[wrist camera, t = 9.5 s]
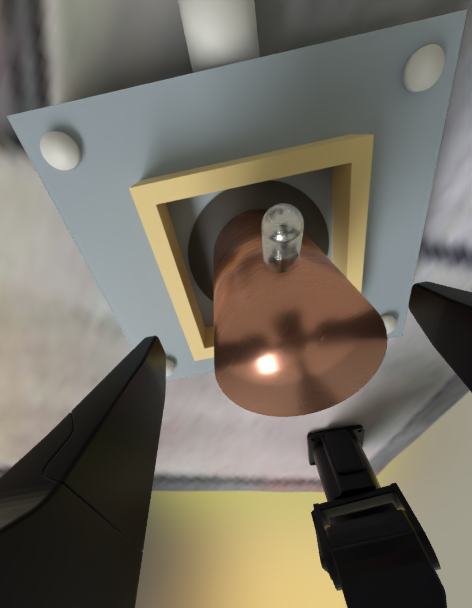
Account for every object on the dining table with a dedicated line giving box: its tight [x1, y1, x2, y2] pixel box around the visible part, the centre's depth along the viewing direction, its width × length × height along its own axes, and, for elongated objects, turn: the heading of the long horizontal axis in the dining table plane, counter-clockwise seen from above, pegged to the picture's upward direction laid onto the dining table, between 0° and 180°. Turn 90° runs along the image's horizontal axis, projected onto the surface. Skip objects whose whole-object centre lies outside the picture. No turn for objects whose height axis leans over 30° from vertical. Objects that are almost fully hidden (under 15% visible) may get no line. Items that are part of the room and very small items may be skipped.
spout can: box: [213, 203, 387, 417], centre depth 11 cm, size 7×5×8 cm
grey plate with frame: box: [7, 0, 468, 381], centre depth 15 cm, size 19×18×6 cm
